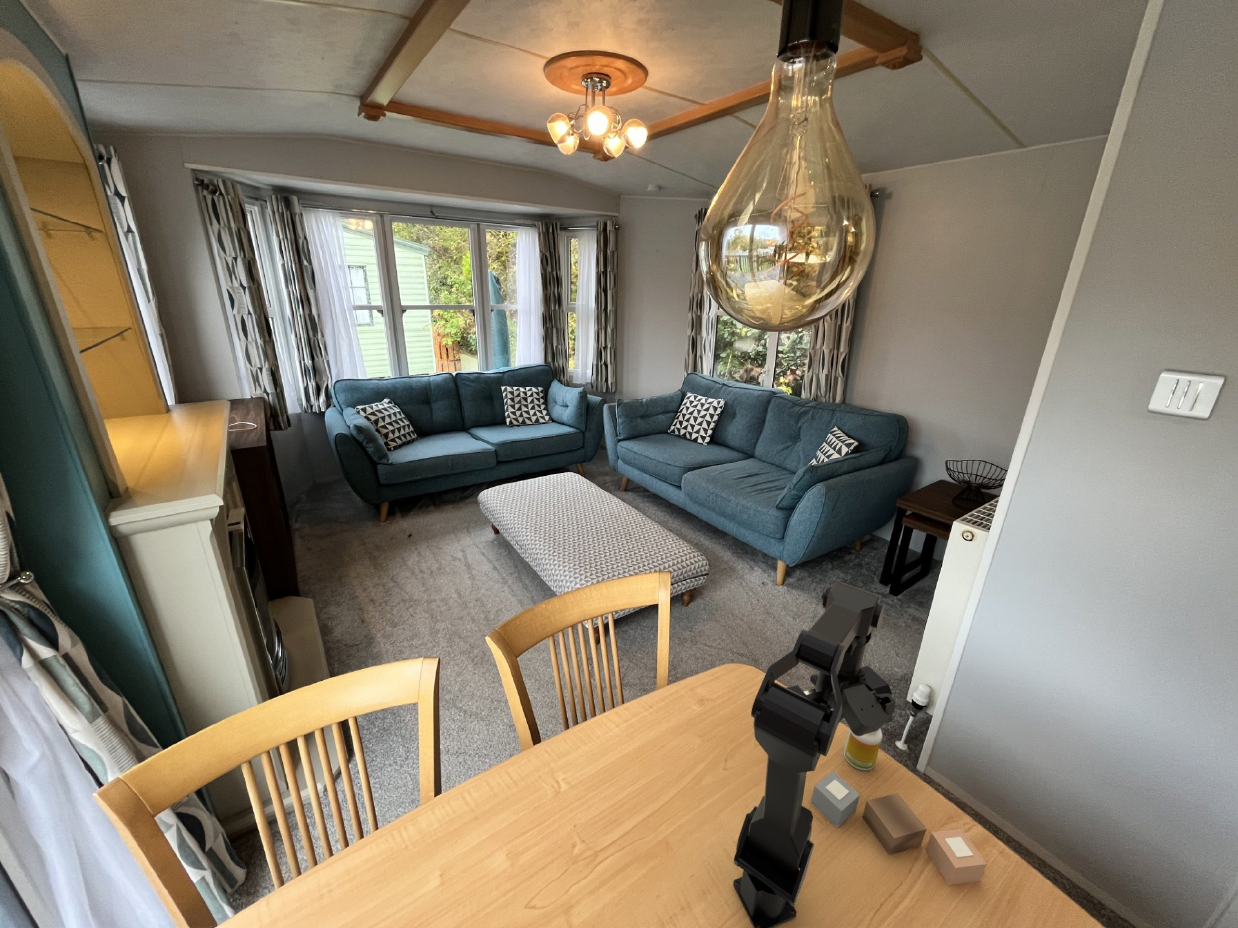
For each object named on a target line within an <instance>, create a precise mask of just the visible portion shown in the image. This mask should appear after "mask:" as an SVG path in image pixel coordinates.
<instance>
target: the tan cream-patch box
mask: <svg viewBox="0 0 1238 928" xmlns="http://www.w3.org/2000/svg"><path fill="white" fill-rule="evenodd" d="M925 850H926V851H925V852H927V854H928V856H929V857H930V858H931V860H932V861H933V863H934V865H935V867H936V868H937V870H938V871H939V873H940V874H941V875H942V877H943V879H944V881H945V882H946V884H947V885H948V886H953V885H954V886H955V885H961V884H962V885H964V884H971V883H978V882H981V879H982V877H983V875H984V872H985V869H986V867H987V866H988V863H987V862H986V860H985V859H984V858H983V856H982V855H981V853H980V852H979V851H978V849H977V848H976V847H975V845H974V844H973V842H972V841H971V839H969V837H968V836H967V834H966V833H965V831H963V829H962V828H958V829H948V830H940V831H932V832H930V835H929V839H928V840H927V845H926V846H925Z"/></svg>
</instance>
